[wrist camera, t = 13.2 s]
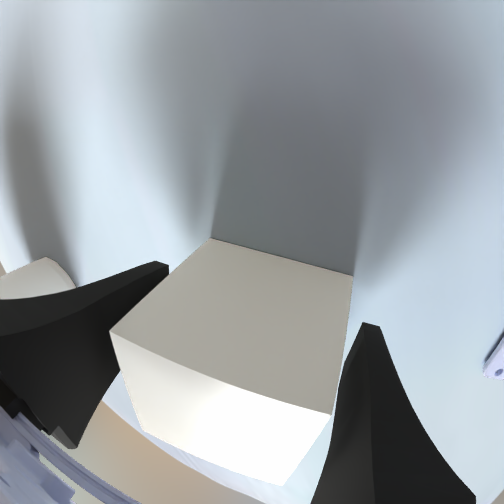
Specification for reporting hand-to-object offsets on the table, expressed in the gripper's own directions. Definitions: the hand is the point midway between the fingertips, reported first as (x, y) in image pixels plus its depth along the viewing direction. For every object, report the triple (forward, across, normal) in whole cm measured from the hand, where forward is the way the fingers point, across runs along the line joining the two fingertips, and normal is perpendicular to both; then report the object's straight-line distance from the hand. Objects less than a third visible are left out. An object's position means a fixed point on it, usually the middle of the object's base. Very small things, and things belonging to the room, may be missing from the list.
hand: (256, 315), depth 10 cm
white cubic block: (+2, 0, +2) cm, 3 cm away
